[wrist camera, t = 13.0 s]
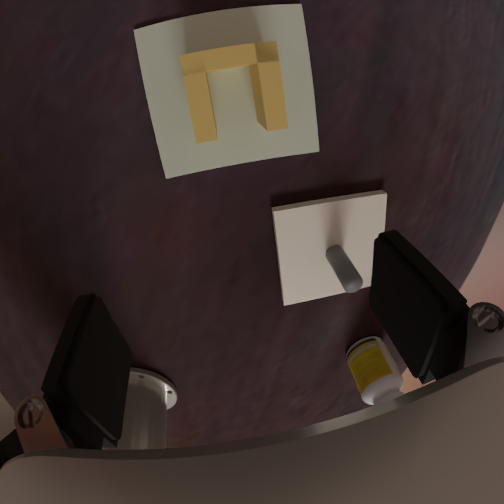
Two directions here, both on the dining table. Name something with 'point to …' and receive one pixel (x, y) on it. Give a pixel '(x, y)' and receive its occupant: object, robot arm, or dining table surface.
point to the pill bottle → (374, 371)
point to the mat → (227, 88)
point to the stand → (327, 244)
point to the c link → (262, 77)
